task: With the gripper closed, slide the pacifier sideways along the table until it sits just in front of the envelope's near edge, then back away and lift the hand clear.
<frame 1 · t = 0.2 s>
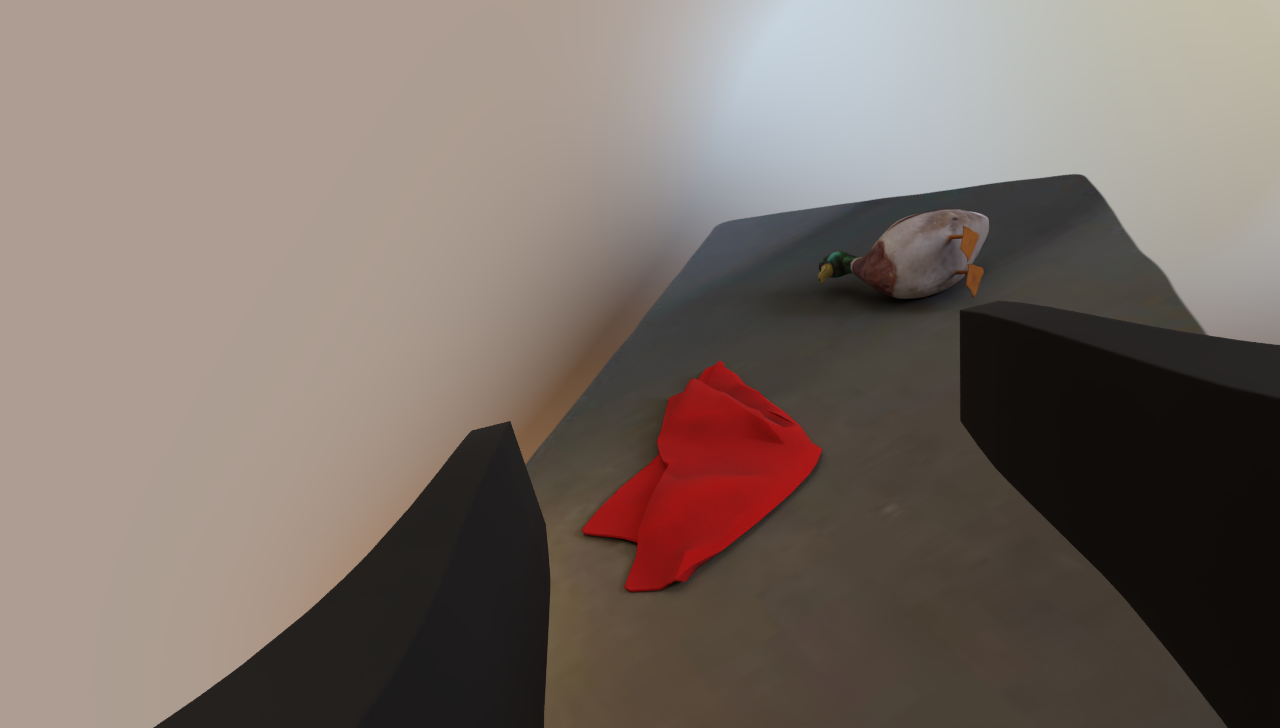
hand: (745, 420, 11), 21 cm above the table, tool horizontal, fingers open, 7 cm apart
decorative duck model: (913, 287, 68), on the table
cloth: (720, 460, 48), on the table
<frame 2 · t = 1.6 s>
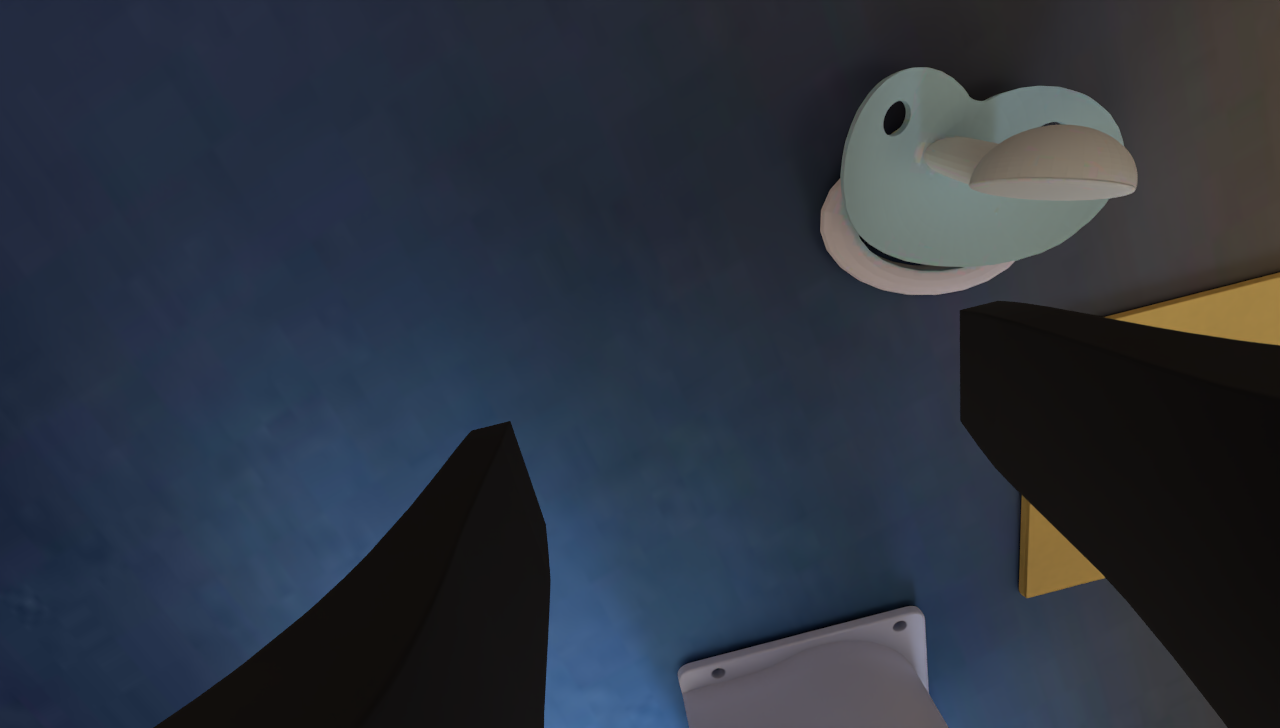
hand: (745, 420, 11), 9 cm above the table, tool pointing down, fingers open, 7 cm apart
envelope: (1239, 420, 25), on the table
pacifier: (925, 187, 20), on the table
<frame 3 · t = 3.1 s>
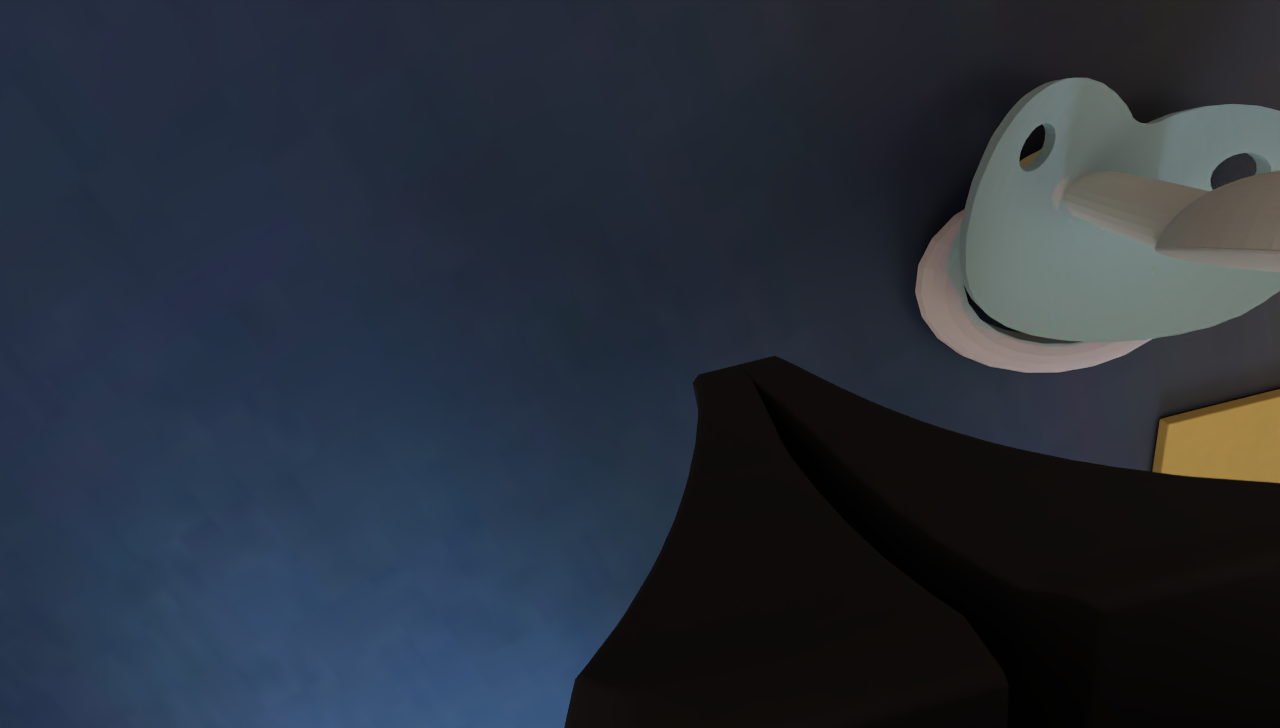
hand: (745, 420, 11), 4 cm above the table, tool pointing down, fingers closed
pacifier: (1049, 233, 15), on the table
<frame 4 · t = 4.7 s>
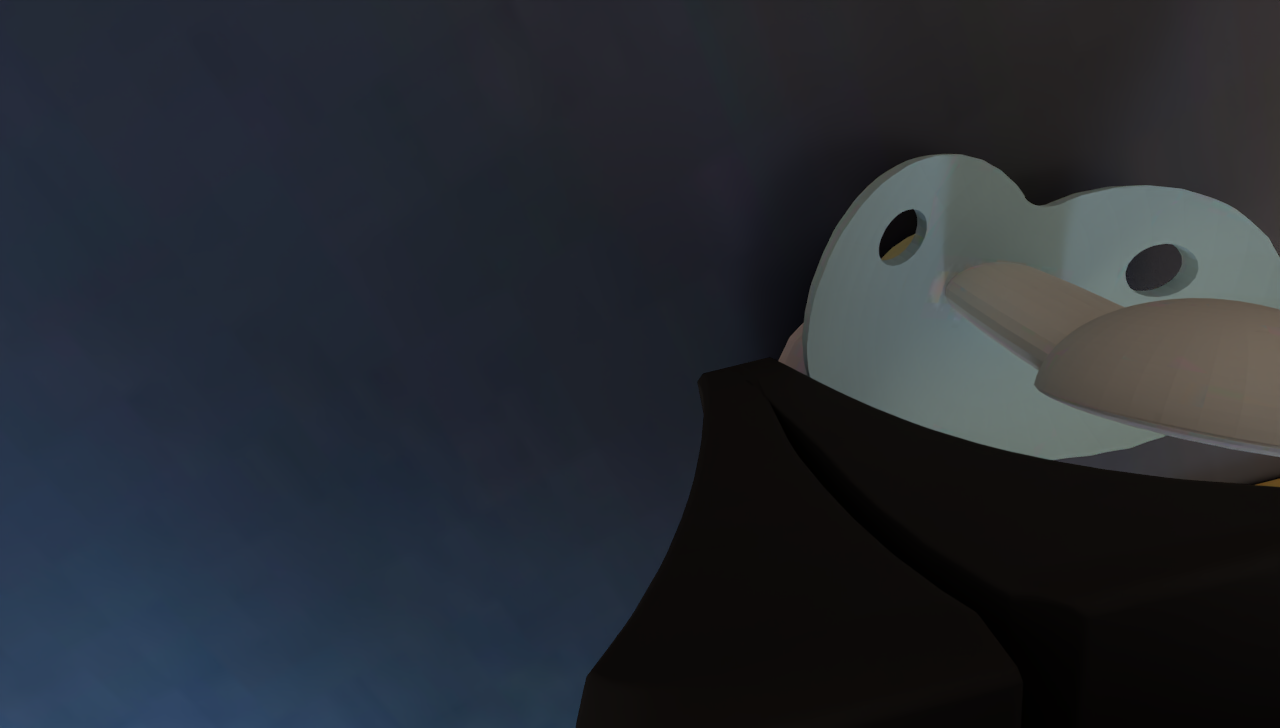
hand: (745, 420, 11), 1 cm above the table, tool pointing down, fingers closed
pacifier: (942, 324, 12), on the table, touching gripper
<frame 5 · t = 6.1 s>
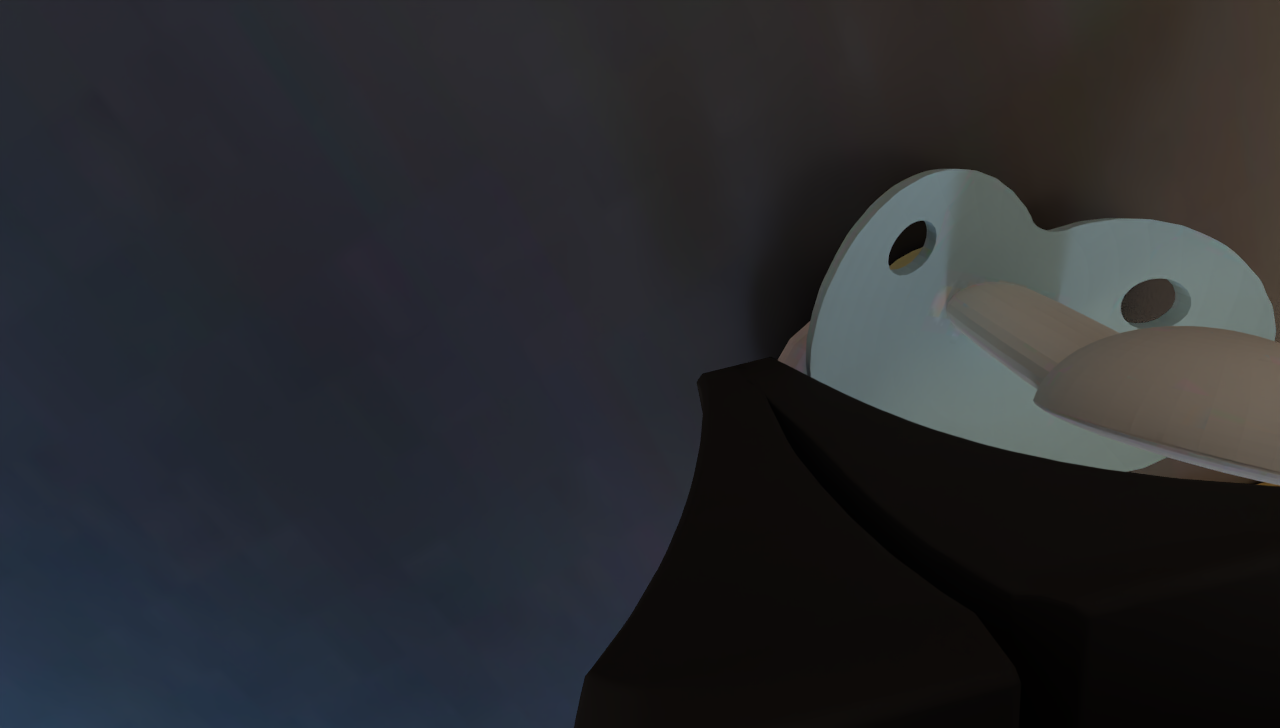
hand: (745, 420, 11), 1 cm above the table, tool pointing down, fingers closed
pacifier: (938, 341, 13), on the table, touching gripper
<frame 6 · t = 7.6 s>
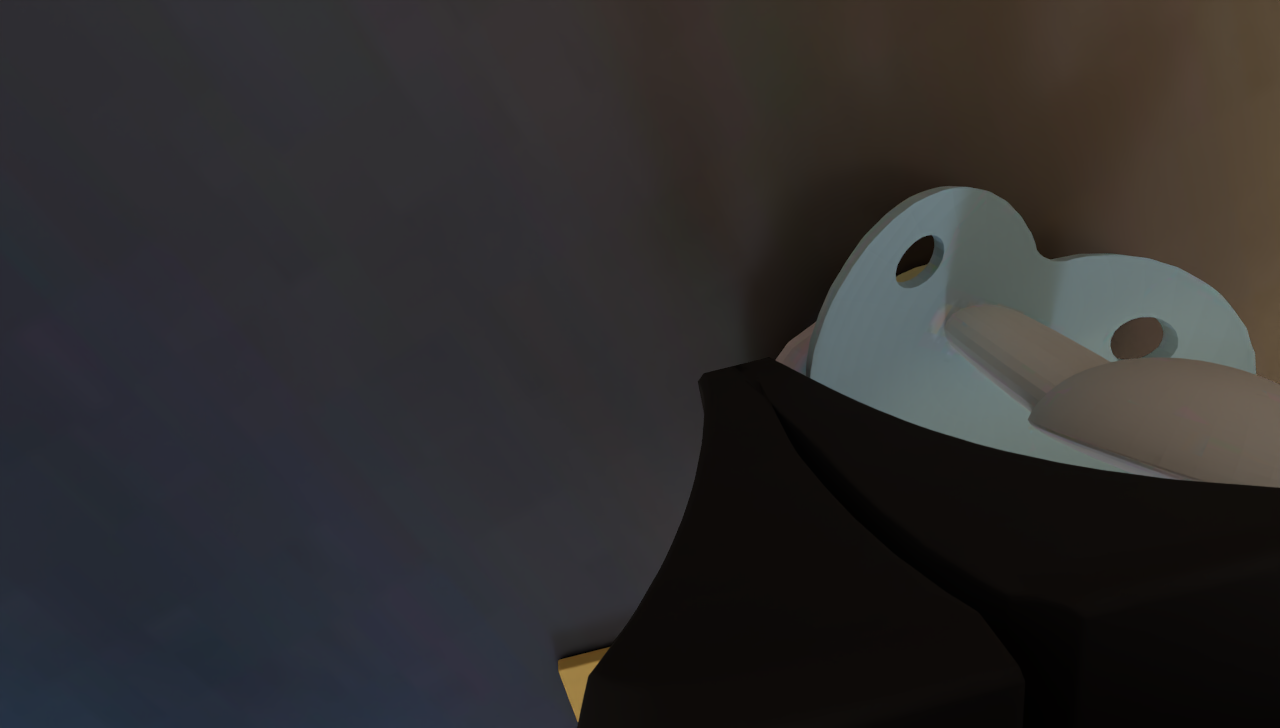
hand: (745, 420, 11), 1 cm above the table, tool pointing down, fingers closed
pacifier: (929, 360, 13), on the table, touching gripper
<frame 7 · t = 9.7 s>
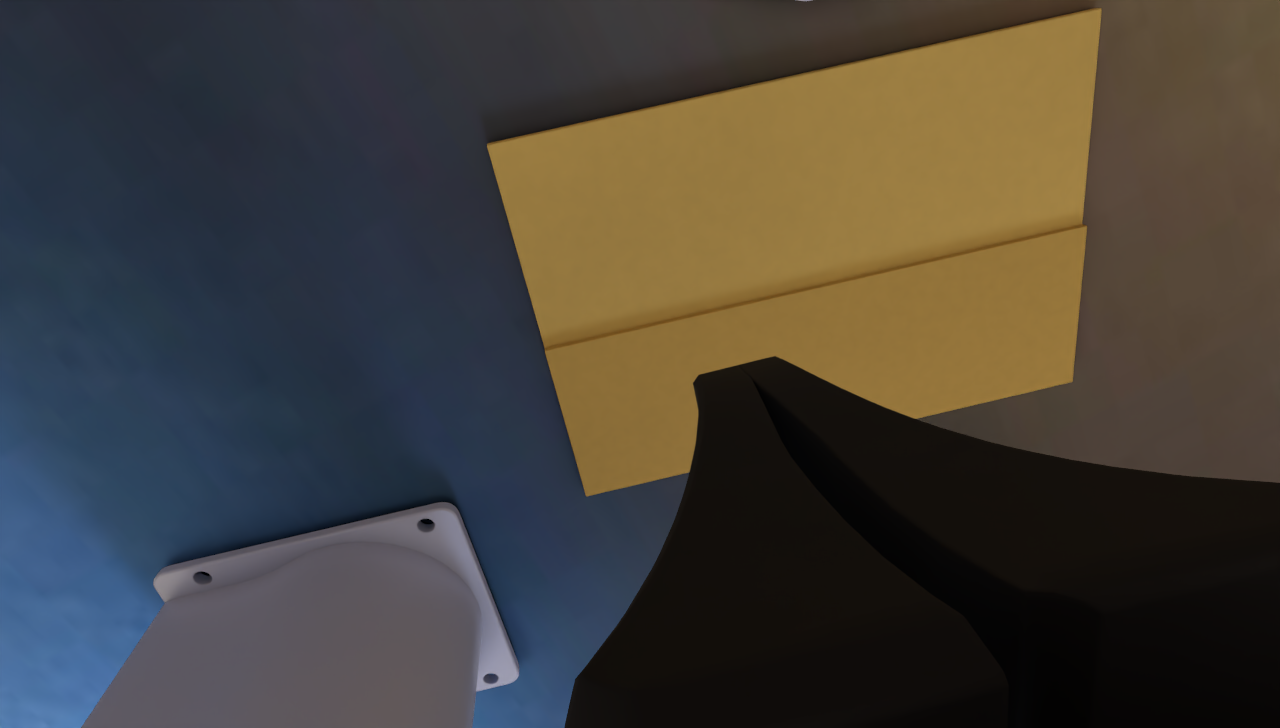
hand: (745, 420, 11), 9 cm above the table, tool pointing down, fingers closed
envelope: (812, 275, 20), on the table
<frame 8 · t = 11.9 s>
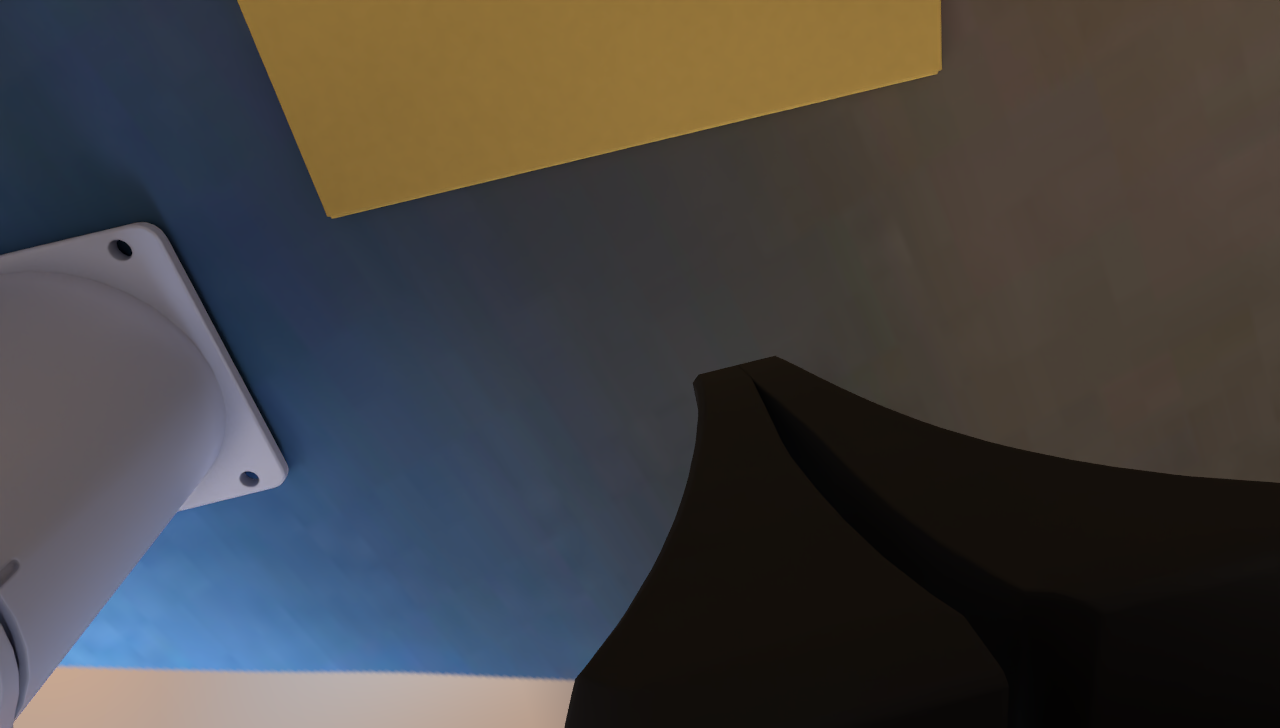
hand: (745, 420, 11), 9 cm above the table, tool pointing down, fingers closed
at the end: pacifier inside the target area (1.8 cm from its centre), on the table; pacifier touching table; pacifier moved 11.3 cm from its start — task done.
